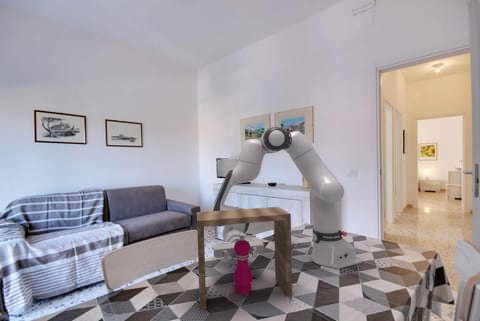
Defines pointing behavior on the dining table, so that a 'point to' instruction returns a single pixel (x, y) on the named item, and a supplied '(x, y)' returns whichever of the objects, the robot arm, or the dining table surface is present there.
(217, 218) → the arch
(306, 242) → the dining table surface
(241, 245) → the pepper mill
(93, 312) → the dining table surface
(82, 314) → the dining table surface
